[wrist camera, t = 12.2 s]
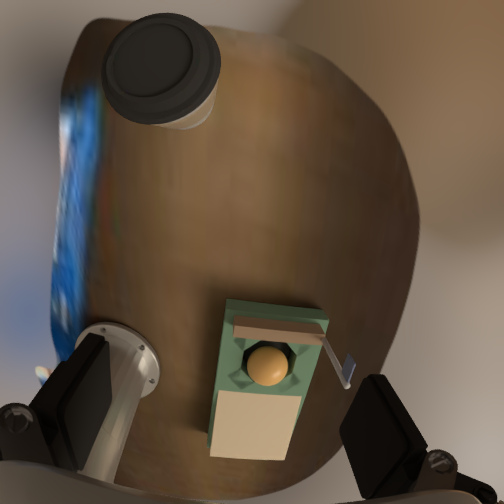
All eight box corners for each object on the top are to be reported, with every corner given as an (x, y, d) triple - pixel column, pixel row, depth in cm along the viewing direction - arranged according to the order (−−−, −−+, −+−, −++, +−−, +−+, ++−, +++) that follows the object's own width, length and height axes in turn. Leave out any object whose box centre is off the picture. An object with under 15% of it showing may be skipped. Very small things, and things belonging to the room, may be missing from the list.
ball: (293, 353, 40) (297, 383, 35) (261, 368, 41) (262, 398, 37) (272, 332, 38) (275, 362, 33) (238, 348, 39) (238, 379, 35)
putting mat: (282, 439, 45) (295, 507, 31) (207, 433, 44) (203, 505, 30) (324, 301, 39) (365, 365, 25) (227, 289, 37) (226, 355, 24)
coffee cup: (209, 52, 30) (196, -15, 16) (236, 122, 33) (238, 89, 18) (135, 82, 30) (79, 36, 16) (159, 151, 33) (108, 142, 18)
